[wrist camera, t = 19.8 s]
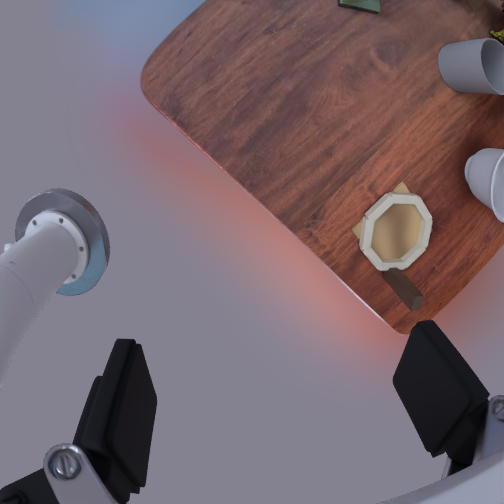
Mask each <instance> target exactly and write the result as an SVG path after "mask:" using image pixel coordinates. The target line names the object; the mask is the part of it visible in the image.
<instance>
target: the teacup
mask: <svg viewBox="0 0 504 504" xmlns="http://www.w3.org/2000/svg"><path fill="white" fill-rule="evenodd" d="M465 178H466V181H467V182H468V184H469V187H470V189H471V191H472V193H473V194H474V196H475V197H476V198H477V199H479V200H480V201H481V202H482V203H484V204H485V205H486V206H488V207H489V208H490V209H492V210H493V211H494V214H495V215H496V217H497V218H498V219H499V220H500V221H501V222H504V150H503V149H494V148H486V149H482V150H480V151H478V152H477V153H476V154H475V155H472V156H471V157H470V158H469V159H468V161H467V163H466V165H465Z"/></svg>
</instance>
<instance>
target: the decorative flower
mask: <svg viewBox="0 0 504 504" xmlns="http://www.w3.org/2000/svg"><path fill="white" fill-rule="evenodd" d="M501 1H504V0H501ZM502 4H503V3H502ZM501 6H502V7H503V11H502V12H504V4H503V5H501ZM490 34H491V35H494V36H495V37H496V38H498V36H499V40H500V41H504V38H503V37H504V29H501V30H500V32H494V31H493V30H491V31H490ZM502 36H503V37H502Z"/></svg>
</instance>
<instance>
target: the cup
mask: <svg viewBox="0 0 504 504" xmlns="http://www.w3.org/2000/svg"><path fill="white" fill-rule="evenodd" d="M438 68H439V70H440V73H441V75H442V78H443V80H444V81H445V82H446V83H447V85H448V86H449V87H450V88H451V89H453V90H455V91H457V92H470V93H487V94H500V95H504V46H503V45H502V44H501V43H500V42H498V41H497V40H496V39H491V38H484V39H476V40H469V41H463V42H457V43H451V44H446V45H445V46H444V47H442V48H441V49H440V52H439V55H438Z"/></svg>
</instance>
